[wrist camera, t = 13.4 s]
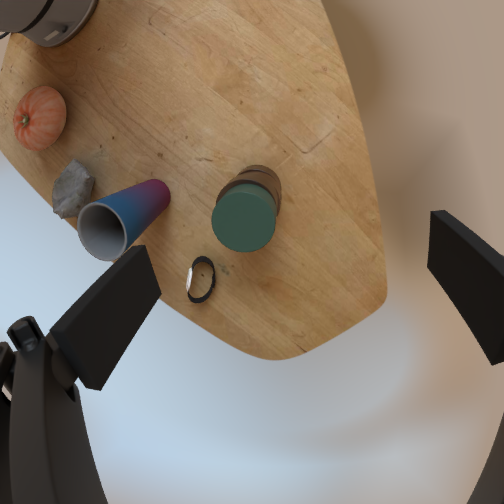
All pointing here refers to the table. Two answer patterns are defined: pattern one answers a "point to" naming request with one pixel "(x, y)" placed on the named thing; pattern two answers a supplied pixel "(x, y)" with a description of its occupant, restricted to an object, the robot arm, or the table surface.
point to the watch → (197, 260)
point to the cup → (121, 218)
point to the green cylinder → (245, 218)
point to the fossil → (72, 190)
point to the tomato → (39, 118)
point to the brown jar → (257, 182)
